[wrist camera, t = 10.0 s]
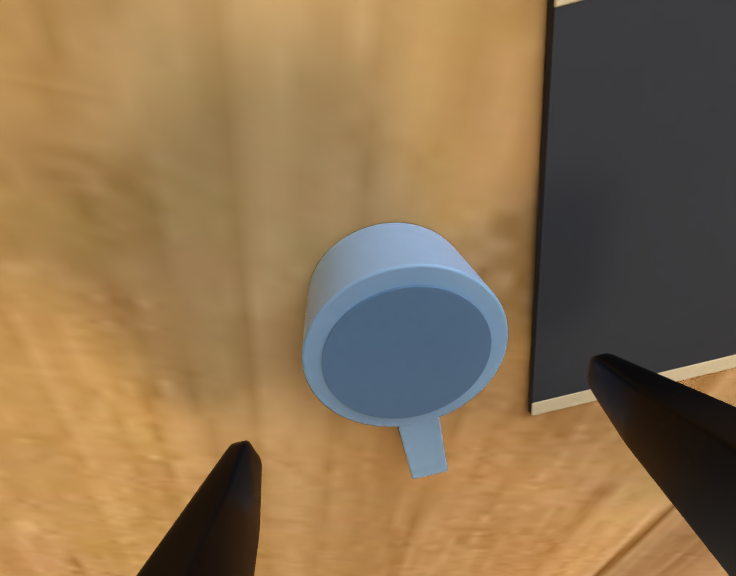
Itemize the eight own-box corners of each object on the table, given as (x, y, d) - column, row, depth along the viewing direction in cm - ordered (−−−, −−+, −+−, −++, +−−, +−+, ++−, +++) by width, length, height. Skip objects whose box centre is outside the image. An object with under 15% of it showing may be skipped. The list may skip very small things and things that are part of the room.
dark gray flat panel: (768, 353, 17) (776, 358, 17) (528, 411, 17) (531, 416, 17) (1056, -172, 8) (1084, -183, 8) (550, -39, 8) (558, -44, 8)
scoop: (283, 246, 11) (267, 300, 8) (461, 201, 11) (511, 239, 8) (363, 452, 18) (371, 527, 15) (477, 425, 18) (509, 494, 15)
